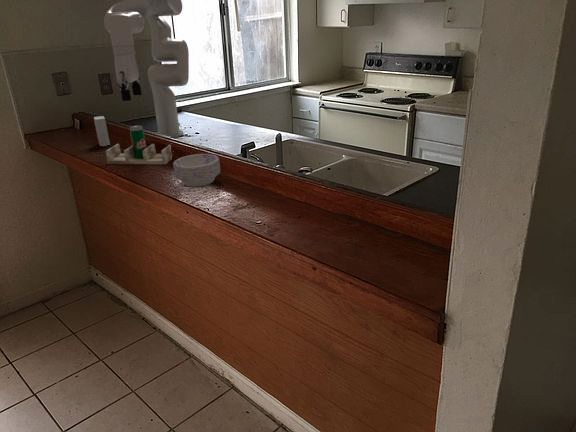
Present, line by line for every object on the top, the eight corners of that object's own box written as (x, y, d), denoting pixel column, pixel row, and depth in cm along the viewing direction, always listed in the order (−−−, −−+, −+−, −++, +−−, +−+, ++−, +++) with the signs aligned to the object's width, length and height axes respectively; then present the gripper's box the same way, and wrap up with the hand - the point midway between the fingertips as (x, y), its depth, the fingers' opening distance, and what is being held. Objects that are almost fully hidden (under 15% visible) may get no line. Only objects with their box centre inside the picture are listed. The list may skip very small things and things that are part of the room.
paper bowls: (166, 183, 167) (163, 161, 164) (203, 172, 177) (201, 150, 174) (193, 193, 157) (190, 169, 154) (230, 181, 167) (228, 158, 164)
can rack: (118, 156, 200) (116, 143, 198) (174, 156, 197) (173, 143, 195) (107, 163, 191) (104, 150, 189) (165, 164, 188) (163, 150, 186)
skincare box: (98, 143, 220) (93, 117, 215) (108, 142, 222) (103, 115, 217) (100, 147, 215) (94, 119, 210) (110, 145, 217) (105, 118, 212)
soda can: (139, 159, 190) (134, 128, 186) (131, 157, 193) (126, 127, 188) (150, 156, 194) (145, 126, 189) (142, 154, 197) (137, 124, 192)
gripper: (124, 47, 189) (132, 93, 196) (103, 53, 173) (112, 102, 181) (143, 47, 188) (150, 92, 195) (123, 53, 172) (132, 102, 180)
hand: (132, 97), depth 188 cm, fingers open, 9 cm apart
